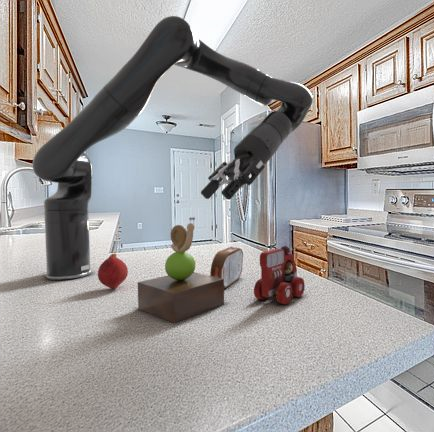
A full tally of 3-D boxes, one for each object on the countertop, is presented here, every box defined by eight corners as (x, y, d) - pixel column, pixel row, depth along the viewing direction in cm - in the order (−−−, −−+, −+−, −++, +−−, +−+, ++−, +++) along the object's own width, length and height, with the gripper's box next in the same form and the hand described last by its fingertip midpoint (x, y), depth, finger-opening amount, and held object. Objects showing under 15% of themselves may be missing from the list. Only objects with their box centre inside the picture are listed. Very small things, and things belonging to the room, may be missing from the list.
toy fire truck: (308, 292, 67) (309, 245, 66) (278, 310, 56) (278, 253, 56) (281, 287, 70) (282, 242, 70) (248, 303, 60) (248, 250, 59)
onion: (114, 293, 65) (113, 256, 65) (91, 292, 67) (90, 255, 66) (133, 286, 71) (132, 251, 71) (112, 284, 72) (111, 250, 72)
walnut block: (138, 309, 57) (137, 282, 56) (188, 293, 66) (187, 270, 65) (174, 323, 50) (174, 293, 50) (224, 304, 59) (224, 278, 59)
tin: (233, 275, 81) (233, 244, 80) (245, 276, 80) (245, 244, 80) (208, 292, 66) (208, 254, 66) (222, 293, 66) (222, 254, 65)
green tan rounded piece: (181, 286, 54) (180, 218, 53) (159, 281, 57) (157, 216, 56) (205, 279, 58) (204, 216, 58) (182, 274, 62) (181, 215, 61)
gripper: (231, 137, 74) (186, 183, 67) (269, 128, 63) (220, 182, 56) (249, 162, 78) (208, 207, 71) (287, 157, 67) (244, 210, 60)
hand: (214, 196), depth 63 cm, fingers open, 8 cm apart
